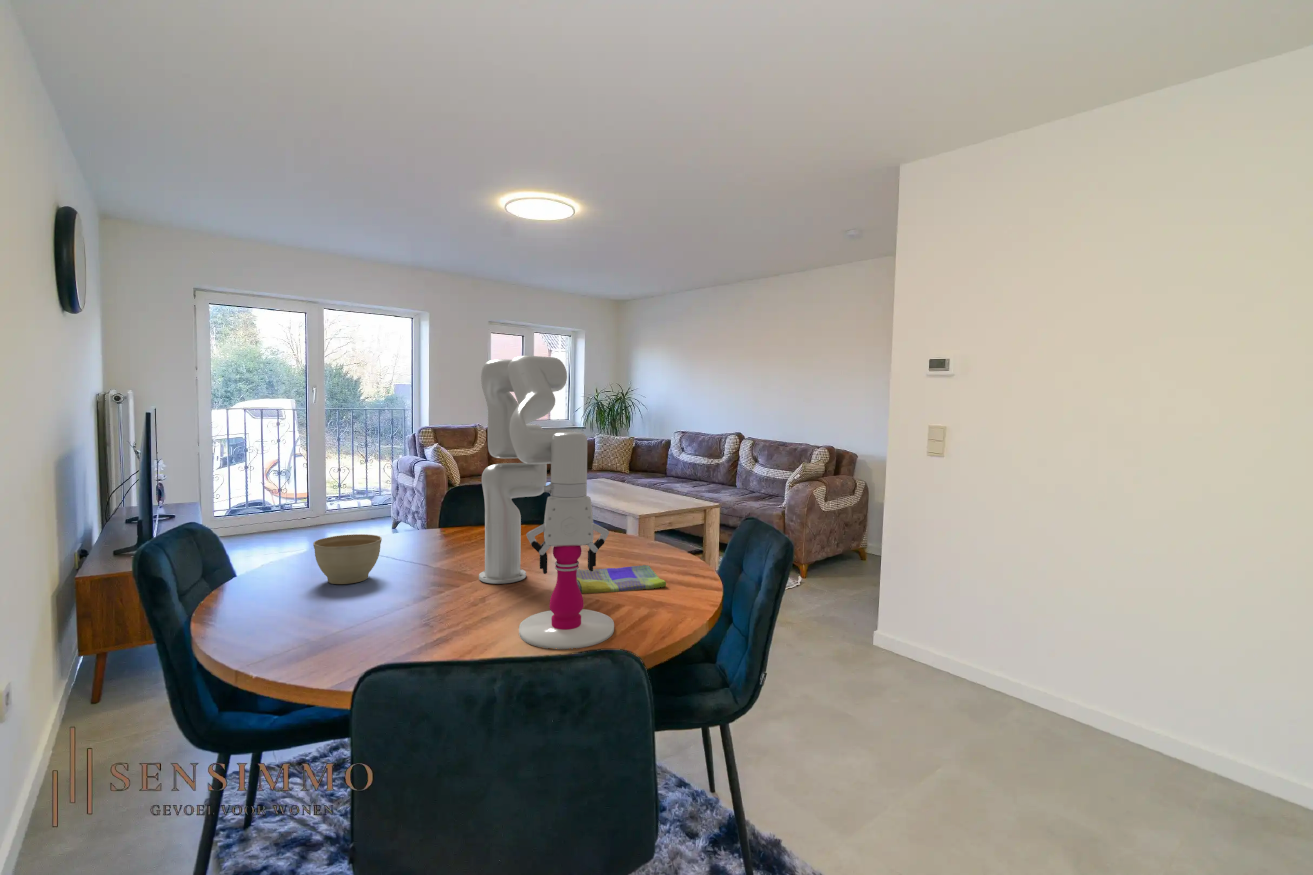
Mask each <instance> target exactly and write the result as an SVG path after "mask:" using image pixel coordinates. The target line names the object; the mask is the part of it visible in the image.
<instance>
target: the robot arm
mask: <svg viewBox="0 0 1313 875" xmlns="http://www.w3.org/2000/svg"><path fill="white" fill-rule="evenodd" d="M567 379H568V373H567V369H566V366H565V364H564V362H563V361H562V360H560V359H559V358H557V357H553V356H541V355H540V356H539V355H519V356H517V357H514V358H513V359H506V358H505V359H502V358H501V359H500V358H499V359H492V360H489V361H487V362H485V363H484V365H483V367H482V369H481V374H480V381H481V388H482V391H483V395H484V399H485V403H486V408H487V450H488V453H489V455H490V456H491V457H493V458H495V459H518V460H520V462H518V463H517V462H508V463H507V462H505V463H503V462H502V463H495V464H491V465H489V466H487V467H485V469H484V470H483V472H482V474H481V486H482V492H483V499H484V570H483V571H482V572H480V573H479V574H478V580H479V581H481V582H483V583H487V584H492V585H493V584H494V585H495V584H496V585H500V584H503V585H504V584H511V583H512V584H513V583H516V582H519V581H522V580H524V579H525V578H526V577H527V571H525V570H524V569H523V568H521V554H522V553H521V547H522V546H521V542H522V540H521V536H522V535H521V533H522V532H521V531H522V530H521V529H522V527H521V526H522V525H521V524H522V522H521V521H522V520H521V519H522V517H521V516H522V515H521V512H520V509H519V508H518V507H517V505H515V503H514V501H513V500H512V499H517V498H525V497H527V498H529V497H537V496H541V495H542V494H543V493H549V494H550V496H547V498H546V504H545V510H544V519H543V524H541V525H539V526H537V527H534V528H533V529H531V530H529V531H528V532H526V538H527V540H528V542H529V544H530V545H531V547H532V548H533V549H534V550H535V551H536V552H537V553H538V554H539V570H542V573H543V574H544V575H546V574H548V553H547V551H548V550H549V549H550V548H551V547H552V548H553V547H560V546H581V547H582V546H587V547H588V550H587V570H589V571H593V569H594V567H597V553H598V550H600V548H602V547H603V546H604V544H605V541H606V540H607V538H608V536H609V535H610V531H609V530H608V529H606V528H604V527H603V526H600V525H598V524H596V523H594V516H593V504H592V499H591V497H590V496H588V495H587V494H588V492H587V489H588V437H587V436H586V434H584V433H583V432H579V431H576V432H575V431H573V430H570V429H544V428H543V427H542V426H540V425H539V424H535V423H532V422H534V421H538V420H539V419H541V418H543V417H545V416H547V415H548V414H549V413H550V412H551V411H552V410H553V409H554V407H555V405H556V397H555V394H554V392H559V391H561V390H562V389H564V387H565V386H566V383H567ZM512 393H514V394H512ZM514 395H515V397H514ZM549 464H550V483H549V484H547V481H548V480H547V478H548V477H547V475H548V474H547V473H548V472H547V471H548V470H547V468H548V466H547V465H549ZM594 532H597V533H599V534H600V535H599V538H597V540H595V541H594ZM541 533H543V539H544V541H543V542H542V543H541V544H540V543H539V542H538V541H537V539H536V538H535V537H536V536H538V535H540V534H541Z"/></svg>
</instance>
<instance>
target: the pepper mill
mask: <svg viewBox="0 0 1313 875" xmlns="http://www.w3.org/2000/svg"><path fill="white" fill-rule="evenodd" d="M552 554H553V555H552V556H553V558H554V559H555V560H556V561H555V562H554V569H555V570H556V574H557V576H556V577H557V578H556V584H555V586H554V589H553V591H552V594H551V596H550V600H549V606H548V607H549V609H550V610H551V611H552V612H553V614H554V615H553V616H552V626H553V627H554V628H556V629H562V630H568V629H574V628H577V627H579V626H580V625H581V615H580V614H579V613H580V612H581V610H582V609H584V605H585V604H584V597H583V593H581V592H580V589H579V587H578V584H577V577H576V573H577V569H580V566H579V565H580V564H579V563H580V562H579V558H580V557H581V555H582V546H560V547H552ZM550 610H549V611H550Z"/></svg>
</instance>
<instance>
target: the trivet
mask: <svg viewBox="0 0 1313 875" xmlns="http://www.w3.org/2000/svg"><path fill="white" fill-rule="evenodd" d="M579 614H580V615H581V625H580V626H579V627H577V628H574V629H568V630H562V629H556V628H554V627H553V626H552V616H553V615H554V614H553V612H552V611H551V610H545V611H541V612H538V613H535V614H531V615H529V616H528V617H525V619H523V620H522V621H521V622H520V623H519V626H518V635H519V637H520V639H521V640H522V641H524V642H525V643H526V644H529V645H530V646H531V645H532V646H534V647H537V648H541V647H543V648H542V649H548V648H553V649H552V650H574V649H573V648H576V649H583V648H587V647H592V646H595V645H598V644H601V643H603V642H605V641H607V640H608V639H609V638H611V637H612V636H613V635H614V632H615V623H614V620H613V619H612V618H611V616H609V615H607V614H604V613H602V612H600V611H596V610H591V609H585V608H583V609H582V610H581V612H580V613H579ZM555 648H557V649H555ZM569 648H571V649H569Z"/></svg>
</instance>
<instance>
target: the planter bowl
mask: <svg viewBox="0 0 1313 875" xmlns="http://www.w3.org/2000/svg"><path fill="white" fill-rule="evenodd" d="M382 541H383V540H382V537H381V536H379V535H376V534H355V533H354V534H342V535H334V536H329V537H324V538H323V537H322V538H319V539H317V540H315V541H314V542H313V548H314V557H315V560H316V563H317V566H318V567H319V569H320V570H321V572H322V573H323V575H325V577H327V582H328V583H329V584H332V585H348V584H355V583H359V582H363V581H365V580H368V578H369V574H370V572H371V571H372V570H373V568H374V567H375V566H376V564H377V561H378V559H379V556H380V552H381V544H382Z"/></svg>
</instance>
